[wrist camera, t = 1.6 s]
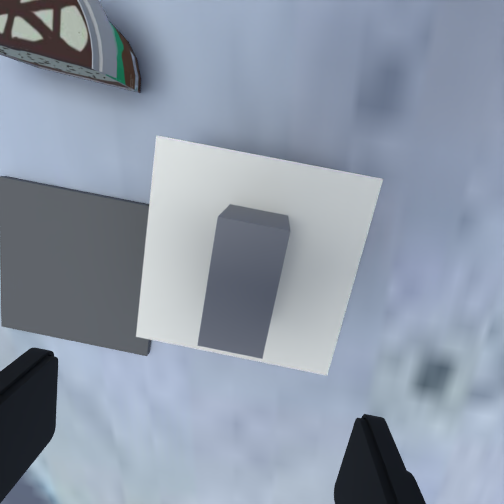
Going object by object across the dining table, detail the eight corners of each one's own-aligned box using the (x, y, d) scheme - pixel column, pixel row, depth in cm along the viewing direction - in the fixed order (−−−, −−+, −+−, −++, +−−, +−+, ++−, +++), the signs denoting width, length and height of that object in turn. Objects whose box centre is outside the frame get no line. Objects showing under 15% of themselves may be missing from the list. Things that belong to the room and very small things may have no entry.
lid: (378, 177, 24) (411, 185, 18) (325, 366, 28) (338, 424, 22) (162, 136, 24) (123, 130, 18) (141, 329, 28) (105, 376, 22)
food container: (168, 19, 29) (113, -48, 20) (156, 97, 31) (101, 70, 21) (25, -16, 29) (-99, -100, 20) (21, 63, 31) (-94, 22, 21)
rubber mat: (166, 207, 33) (163, 208, 33) (149, 351, 38) (146, 355, 37) (5, 176, 34) (-2, 176, 33) (7, 322, 38) (1, 326, 37)
